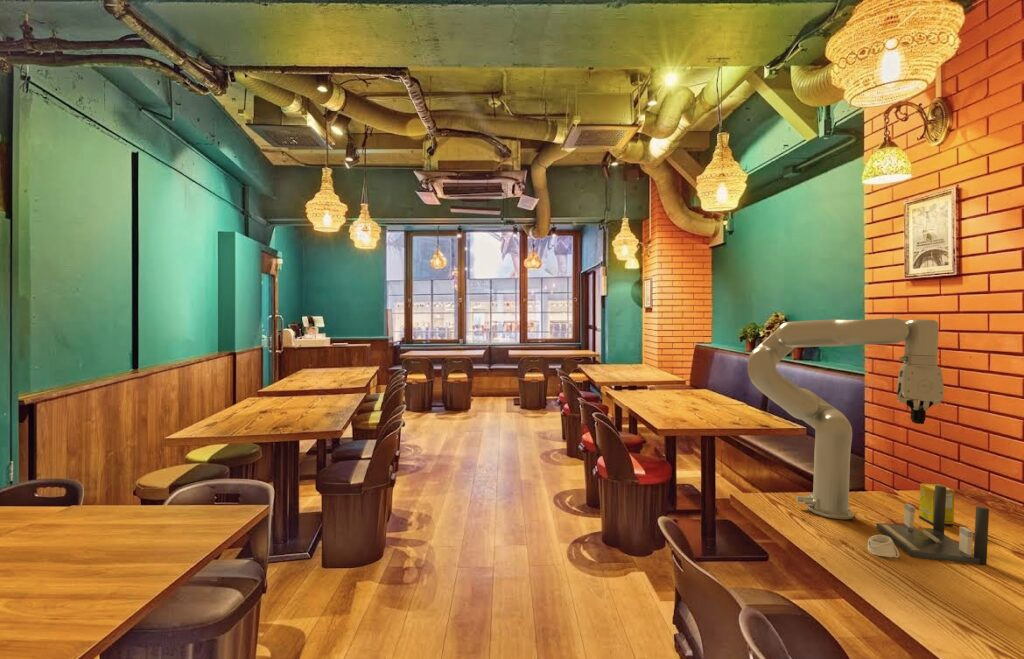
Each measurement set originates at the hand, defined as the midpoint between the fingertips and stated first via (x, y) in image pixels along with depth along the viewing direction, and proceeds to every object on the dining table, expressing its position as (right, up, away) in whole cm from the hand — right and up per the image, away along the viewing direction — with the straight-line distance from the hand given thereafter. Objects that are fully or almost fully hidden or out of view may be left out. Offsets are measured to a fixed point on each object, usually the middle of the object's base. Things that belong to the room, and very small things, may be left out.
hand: (917, 422), depth 145 cm
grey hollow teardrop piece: (-23, -31, -16) cm, 42 cm away
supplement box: (+9, -31, +5) cm, 33 cm away
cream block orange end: (-4, -30, -12) cm, 32 cm away
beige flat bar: (-6, -30, -4) cm, 30 cm away
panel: (-7, -31, -11) cm, 34 cm away
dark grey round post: (0, -31, -13) cm, 34 cm away
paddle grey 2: (-4, -30, -19) cm, 36 cm away
